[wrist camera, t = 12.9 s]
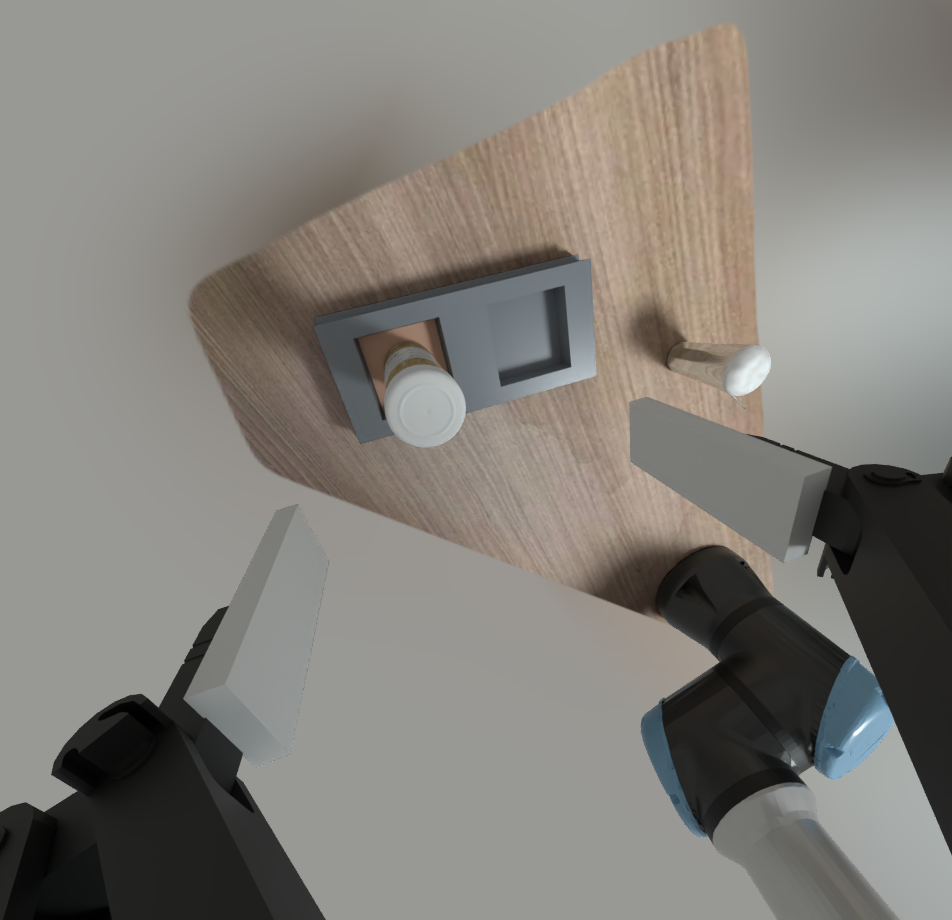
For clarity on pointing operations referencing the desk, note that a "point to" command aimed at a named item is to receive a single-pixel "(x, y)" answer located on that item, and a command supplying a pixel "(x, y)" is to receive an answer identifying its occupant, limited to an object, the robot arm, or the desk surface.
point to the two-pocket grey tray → (469, 338)
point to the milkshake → (722, 365)
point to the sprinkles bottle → (420, 397)
